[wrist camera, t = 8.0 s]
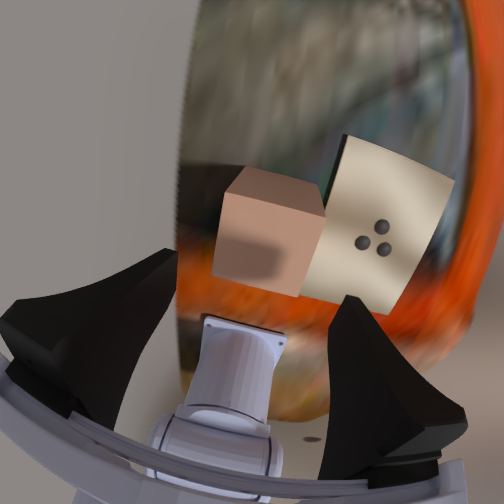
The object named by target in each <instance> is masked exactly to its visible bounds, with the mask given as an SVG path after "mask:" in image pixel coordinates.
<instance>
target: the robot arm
mask: <svg viewBox="0 0 504 504" xmlns="http://www.w3.org/2000/svg"><path fill="white" fill-rule="evenodd" d="M177 263H178V251H174V250H171V249H167V248H164V249H162V250H160V251H158V252H156V253H155V254H153V255H151V256H149V257H147V258H146V259H144V260H142V261H140V262H138V263H137V264H134V265H133V266H131V267H129V268H127V269H125V270H123V271H121V272H118V273H116V274H114V275H112V276H110V277H108V278H106V279H103V280H101V281H98V282H96V283H93V284H90V285H88V286H85V287H81V288H78V289H75V290H72V291H68V292H64V293H60V294H56V295H50V296H45V297H38V298H30V299H20V300H16V301H15V302H14V303H13V305H12V306H11V307H10V308H9V309H8V310H7V311H6V312H5V313H4V314H3V315H2V316H1V317H0V334H1V336H2V338H3V340H4V341H5V343H6V345H7V347H8V348H9V350H10V352H11V353H12V355H13V356H14V359H13V361H12V362H11V363H10V361H8V359H7V358H6V357H5V356H4V355H3V354H1V353H0V430H1V431H2V432H3V433H4V434H5V435H6V436H7V437H9V438H10V439H11V440H12V441H13V442H14V443H15V444H16V445H17V446H19V447H20V448H21V449H22V450H23V451H25V452H26V453H27V454H28V455H30V456H31V457H32V458H33V459H35V460H36V461H37V462H38V463H40V464H41V465H43V466H44V467H45V468H47V469H48V470H50V471H51V472H52V473H54V474H55V475H57V476H58V477H60V478H61V479H63V480H64V481H66V482H67V483H69V484H70V485H72V486H74V487H75V488H77V489H78V490H77V492H76V495H75V497H74V500H73V502H72V504H270V503H269V501H270V498H271V497H277V498H290V499H312V500H301V501H300V502H299V503H296V504H468V496H467V487H466V479H465V472H464V465H463V459H462V458H460V459H456V460H452V461H448V462H445V463H442V464H439V465H438V461H437V459H439V458H441V456H442V454H441V449H443V448H444V447H446V446H447V445H449V444H450V443H452V442H453V441H454V440H456V439H458V438H459V437H460V436H461V435H462V434H463V433H464V432H465V431H466V430H467V428H468V423H467V419H466V415H465V411H464V408H463V407H461V406H460V405H458V404H456V403H455V402H453V401H452V400H450V399H449V398H447V397H446V396H445V395H443V394H442V393H441V392H439V391H438V390H437V389H436V388H435V387H433V386H432V385H431V384H430V383H429V382H427V381H426V380H425V379H424V378H423V377H422V376H421V375H420V374H419V373H418V372H417V371H416V370H415V369H414V368H413V367H412V366H411V365H410V364H409V362H408V361H407V360H406V359H405V358H404V357H403V356H402V355H401V353H400V352H399V351H398V350H397V349H396V347H395V346H394V345H393V343H392V342H391V341H390V340H389V338H388V337H387V335H386V334H385V333H384V331H383V330H382V329H381V327H380V326H379V324H378V323H377V321H376V320H375V319H374V317H373V316H372V314H371V313H370V311H369V310H368V309H367V307H366V306H365V304H364V303H363V302H362V300H361V299H360V298H359V297H356V296H352V295H347V294H346V296H345V298H344V300H343V302H342V303H341V305H340V307H339V309H338V311H337V313H336V315H335V317H334V319H333V321H332V322H331V324H330V326H329V329H328V347H327V349H328V364H329V378H330V412H329V422H328V430H327V438H326V443H325V449H324V455H323V459H322V463H321V468H320V472H319V476H318V480H305V479H290V478H280V476H281V471H282V464H283V450H282V446H281V444H280V443H279V442H278V439H277V438H276V437H273V436H269V434H270V425H266V420H267V413H268V406H269V399H270V391H271V383H272V375H273V370H274V368H275V366H276V364H277V362H278V360H279V358H280V356H281V354H282V351H283V349H284V347H285V345H286V343H287V340H288V337H287V336H286V335H284V334H279V333H275V332H271V331H267V330H262V329H258V328H254V327H250V326H246V325H242V324H238V323H235V322H231V321H227V320H223V319H220V318H216V317H213V316H207V317H206V318H205V320H204V327H203V335H202V343H201V351H200V359H199V362H198V365H197V368H196V371H195V374H194V376H193V379H192V382H191V385H190V388H189V391H188V393H187V396H186V399H185V402H184V405H182V404H179V405H178V408H177V411H176V413H171V412H167V413H166V414H164V415H162V416H160V417H159V418H158V419H157V421H156V422H155V424H154V426H153V428H152V430H151V432H150V435H149V438H148V441H147V444H146V445H144V444H141V443H139V442H136V441H134V440H132V439H129V438H127V437H125V436H122V435H120V434H118V433H116V432H114V427H115V423H116V420H117V416H118V413H119V409H120V406H121V403H122V400H123V397H124V394H125V392H126V389H127V386H128V384H129V381H130V378H131V376H132V373H133V371H134V368H135V366H136V364H137V362H138V359H139V357H140V355H141V353H142V351H143V349H144V347H145V345H146V343H147V341H148V340H149V338H150V337H151V335H152V333H153V332H154V330H155V328H156V327H157V325H158V324H159V322H160V320H161V319H162V317H163V315H164V314H165V312H166V310H167V309H168V306H169V304H170V302H171V300H172V298H173V295H174V293H175V291H176V281H177ZM209 324H210V325H209ZM280 342H282V343H280ZM113 453H114V454H113ZM115 454H116V455H115ZM117 455H118V456H120V457H122V458H125V459H127V460H129V461H132V462H134V463H137V464H139V465H142V466H144V474H140V473H138V472H137V471H135V470H134V469H132V468H131V467H130V463H129V462H128V461H126V460H124V459H122V458H120V457H118V456H117Z"/></svg>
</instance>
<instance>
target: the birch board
mask: <svg viewBox="0 0 504 504" xmlns="http://www.w3.org/2000/svg"><path fill="white" fill-rule="evenodd" d="M454 183H455V181H454V180H452V179H450V178H448V177H447V176H445V175H443V174H441V173H439V172H437V171H435V170H433V169H431V168H429V167H426V166H424V165H422V164H420V163H418V162H416V161H413V160H411V159H409V158H407V157H404V156H402V155H400V154H397V153H395V152H393V151H390V150H388V149H385V148H383V147H380V146H378V145H375V144H372V143H370V142H367V141H364V140H361V139H359V138H356V137H353V136H350V135H348V136H347V139H346V143H345V146H344V150H343V153H342V156H341V160H340V163H339V166H338V169H337V173H336V176H335V179H334V182H333V185H332V188H331V191H330V195H329V198H328V201H327V204H326V207H325V213H326V217H327V219H326V222H325V225H324V227H323V230H322V233H321V236H320V239H319V241H318V244H317V247H316V250H315V252H314V255H313V258H312V260H311V263H310V266H309V268H308V271H307V274H306V276H305V279H304V281H303V284H302V287H301V289H300V292H299V294H298V295H302V296H306V297H310V298H315V299H319V300H323V301H327V302H332V303H336V304H340V305H341V303H342V302H343V300H344V298H345V296H346V294H347V295H352V296H356V297H359V298H360V299H361V300H362V302H363V303H364V304H365V306H366V307H367V309H368V310H369V311H372V312H376V313H381V314H385V315H389V313H390V311H391V310H392V308H393V307H394V305H395V303H396V302H397V300H398V298H399V297H400V295H401V293H402V292H403V290H404V288H405V287H406V285H407V283H408V281H409V280H410V278H411V276H412V274H413V272H414V271H415V269H416V267H417V265H418V263H419V261H420V259H421V257H422V255H423V253H424V251H425V250H426V247H427V245H428V243H429V241H430V239H431V237H432V235H433V233H434V231H435V229H436V226H437V224H438V222H439V220H440V217H441V215H442V213H443V210H444V208H445V206H446V203H447V201H448V198H449V196H450V193H451V191H452V188H453V185H454Z"/></svg>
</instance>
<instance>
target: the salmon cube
mask: <svg viewBox="0 0 504 504" xmlns="http://www.w3.org/2000/svg"><path fill="white" fill-rule="evenodd" d="M326 219H327V217H326V213H325V210H324V206H323V202H322V198H321V195H320V191H319V188H318V184H314V183H311V182H307V181H304V180H300V179H296V178H293V177H289V176H285V175H281V174H277V173H273V172H269V171H265V170H261V169H257V168H253V167H248V166H245V168H244V169H243V170H242V171H241V173H240V174H239V175H238V176H237V177H236V179H235V180H234V181H233V182H232V184H231V185H230V186H229V187H228V189H227V190H226V191H225V195H224V200H223V206H222V212H221V218H220V223H219V229H218V235H217V242H216V248H215V254H214V261H213V267H212V274H211V276H215V277H219V278H222V279H226V280H230V281H234V282H238V283H241V284H245V285H249V286H253V287H257V288H261V289H265V290H269V291H273V292H277V293H281V294H285V295H289V296H293V297H298V294H299V292H300V289H301V287H302V284H303V281H304V279H305V276H306V274H307V271H308V268H309V266H310V263H311V260H312V258H313V255H314V252H315V250H316V247H317V244H318V241H319V239H320V236H321V233H322V230H323V227H324V225H325V222H326Z"/></svg>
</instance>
